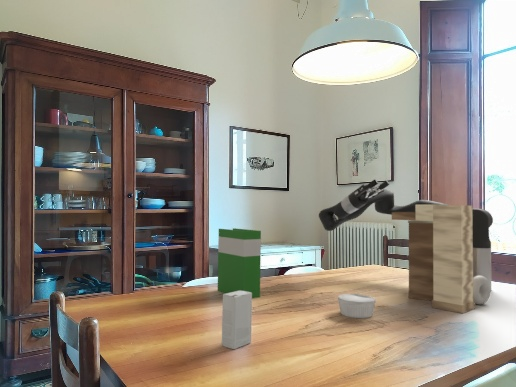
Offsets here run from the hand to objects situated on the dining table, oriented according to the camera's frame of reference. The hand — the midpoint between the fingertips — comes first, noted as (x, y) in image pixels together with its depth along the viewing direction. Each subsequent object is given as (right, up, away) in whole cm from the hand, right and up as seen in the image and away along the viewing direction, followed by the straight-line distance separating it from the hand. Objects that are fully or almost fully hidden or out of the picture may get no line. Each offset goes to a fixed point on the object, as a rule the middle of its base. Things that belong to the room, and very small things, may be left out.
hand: (382, 181), depth 162 cm
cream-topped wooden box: (+12, -43, -16) cm, 48 cm away
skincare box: (-57, -40, -70) cm, 99 cm away
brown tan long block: (+9, -15, -11) cm, 21 cm away
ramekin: (-21, -42, -42) cm, 63 cm away
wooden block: (+13, -43, -33) cm, 55 cm away
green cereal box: (-59, -43, -15) cm, 74 cm away
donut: (+25, -43, -27) cm, 57 cm away
